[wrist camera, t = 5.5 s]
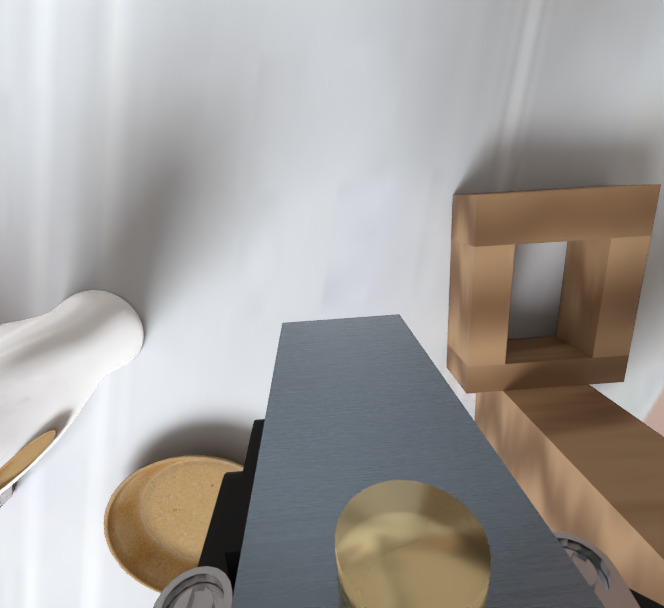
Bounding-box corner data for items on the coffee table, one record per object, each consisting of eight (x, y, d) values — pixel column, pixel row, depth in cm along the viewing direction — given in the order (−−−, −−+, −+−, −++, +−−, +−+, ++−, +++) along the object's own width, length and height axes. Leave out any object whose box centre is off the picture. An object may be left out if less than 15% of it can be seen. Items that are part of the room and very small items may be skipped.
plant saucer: (151, 585, 35) (138, 615, 32) (93, 454, 30) (73, 477, 28) (308, 556, 35) (307, 584, 32) (271, 420, 30) (267, 440, 28)
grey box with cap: (279, 300, 12) (-19, 1554, 1) (399, 292, 13) (1255, 1300, 1) (297, 467, 15) (260, 1498, 3) (399, 458, 15) (714, 1401, 3)
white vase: (65, 376, 28) (-193, 568, 14) (39, 286, 26) (-295, 401, 12) (159, 369, 28) (1, 552, 14) (140, 280, 26) (-67, 385, 12)
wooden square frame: (452, 194, 26) (861, 202, 7) (609, 185, 26) (1437, 167, 7) (444, 439, 31) (649, 827, 12) (573, 428, 32) (971, 791, 12)
